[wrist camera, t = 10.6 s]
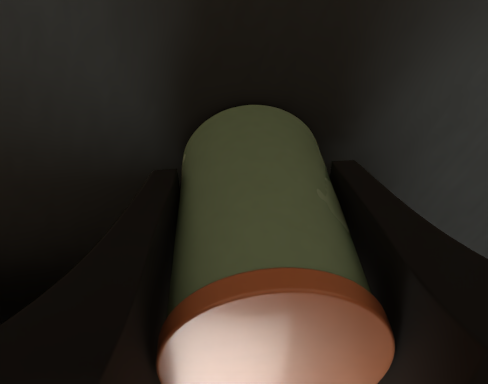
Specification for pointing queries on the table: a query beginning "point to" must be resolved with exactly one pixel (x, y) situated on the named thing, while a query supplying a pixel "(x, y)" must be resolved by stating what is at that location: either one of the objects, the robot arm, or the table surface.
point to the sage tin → (266, 264)
